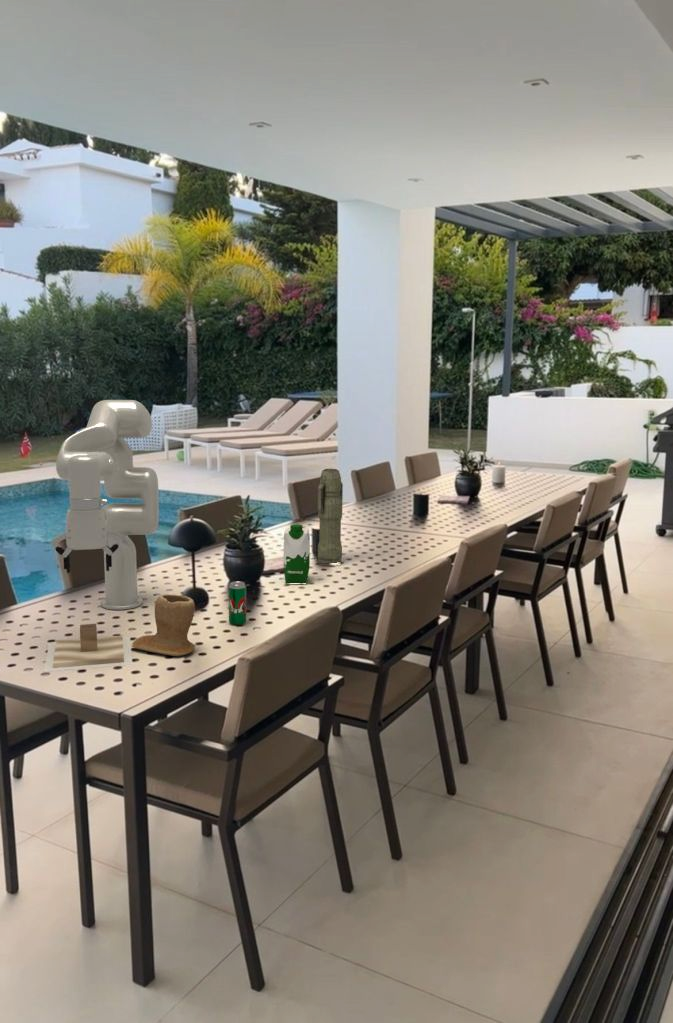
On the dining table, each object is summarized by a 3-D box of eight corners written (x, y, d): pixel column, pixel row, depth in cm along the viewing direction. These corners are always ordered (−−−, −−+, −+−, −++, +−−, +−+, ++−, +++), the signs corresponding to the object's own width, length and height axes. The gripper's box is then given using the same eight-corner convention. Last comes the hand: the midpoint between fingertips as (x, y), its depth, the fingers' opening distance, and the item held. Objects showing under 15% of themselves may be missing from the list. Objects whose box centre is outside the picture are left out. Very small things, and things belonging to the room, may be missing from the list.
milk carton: (282, 585, 287) (282, 526, 283) (284, 577, 296) (284, 521, 292) (308, 585, 287) (309, 527, 283) (310, 578, 296) (310, 521, 292)
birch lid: (56, 644, 227) (55, 618, 226) (122, 639, 231) (121, 614, 230) (53, 668, 211) (51, 640, 210) (124, 662, 215) (122, 634, 214)
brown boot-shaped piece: (205, 648, 228) (204, 593, 225) (179, 662, 217) (177, 606, 214) (158, 639, 234) (156, 586, 231) (130, 653, 223) (128, 598, 220)
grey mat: (49, 644, 229) (49, 642, 229) (130, 638, 234) (129, 636, 234) (44, 674, 209) (43, 671, 209) (132, 666, 214) (132, 664, 214)
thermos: (310, 564, 313) (310, 470, 307) (329, 558, 323) (329, 466, 316) (330, 568, 308) (331, 472, 302) (348, 562, 318) (349, 468, 311)
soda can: (246, 620, 250) (246, 580, 248) (245, 626, 246) (245, 585, 243) (229, 620, 250) (229, 580, 248) (228, 626, 245) (227, 585, 243)
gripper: (120, 501, 221) (122, 565, 224) (50, 503, 217) (53, 569, 219) (121, 505, 214) (123, 572, 217) (48, 508, 209) (51, 576, 212)
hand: (88, 570), depth 218 cm, fingers open, 9 cm apart
